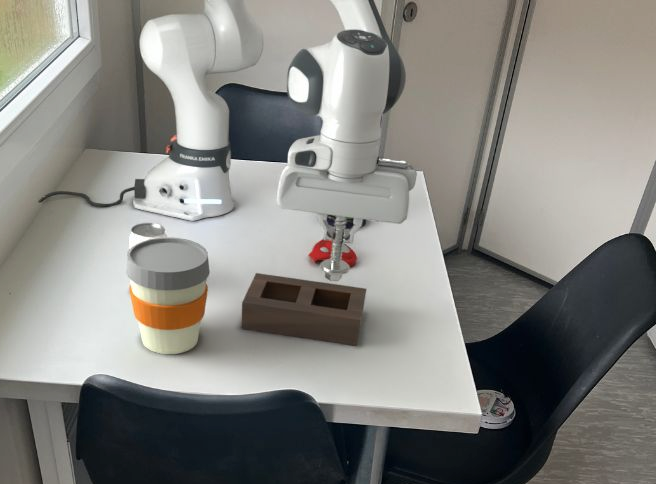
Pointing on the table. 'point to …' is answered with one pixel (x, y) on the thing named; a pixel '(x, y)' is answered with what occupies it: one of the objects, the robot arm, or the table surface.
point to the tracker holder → (324, 251)
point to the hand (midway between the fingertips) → (337, 240)
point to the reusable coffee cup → (168, 292)
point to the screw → (336, 253)
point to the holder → (303, 309)
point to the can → (146, 232)
